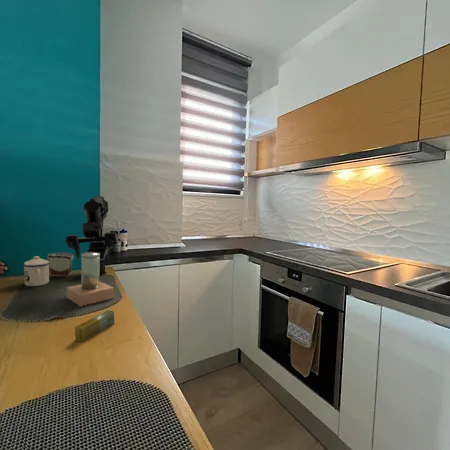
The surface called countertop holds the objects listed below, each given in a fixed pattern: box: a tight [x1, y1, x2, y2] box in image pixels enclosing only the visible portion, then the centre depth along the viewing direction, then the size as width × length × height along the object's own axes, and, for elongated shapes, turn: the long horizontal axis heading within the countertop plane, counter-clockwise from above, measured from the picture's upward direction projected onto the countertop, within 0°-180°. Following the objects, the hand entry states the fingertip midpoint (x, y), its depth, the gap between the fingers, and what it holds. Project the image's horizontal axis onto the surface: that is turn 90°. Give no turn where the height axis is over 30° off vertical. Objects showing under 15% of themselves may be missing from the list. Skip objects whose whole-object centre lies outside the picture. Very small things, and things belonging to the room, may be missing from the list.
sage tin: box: [80, 252, 100, 290], centre depth 102 cm, size 6×6×13 cm
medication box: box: [74, 310, 115, 343], centre depth 77 cm, size 12×3×4 cm, turn 161°
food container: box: [46, 252, 75, 278], centre depth 132 cm, size 12×6×10 cm, turn 84°
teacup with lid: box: [23, 255, 50, 287], centre depth 115 cm, size 12×9×12 cm
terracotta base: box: [66, 280, 115, 307], centre depth 102 cm, size 12×12×4 cm
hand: (91, 258), depth 109 cm, fingers open, 9 cm apart
